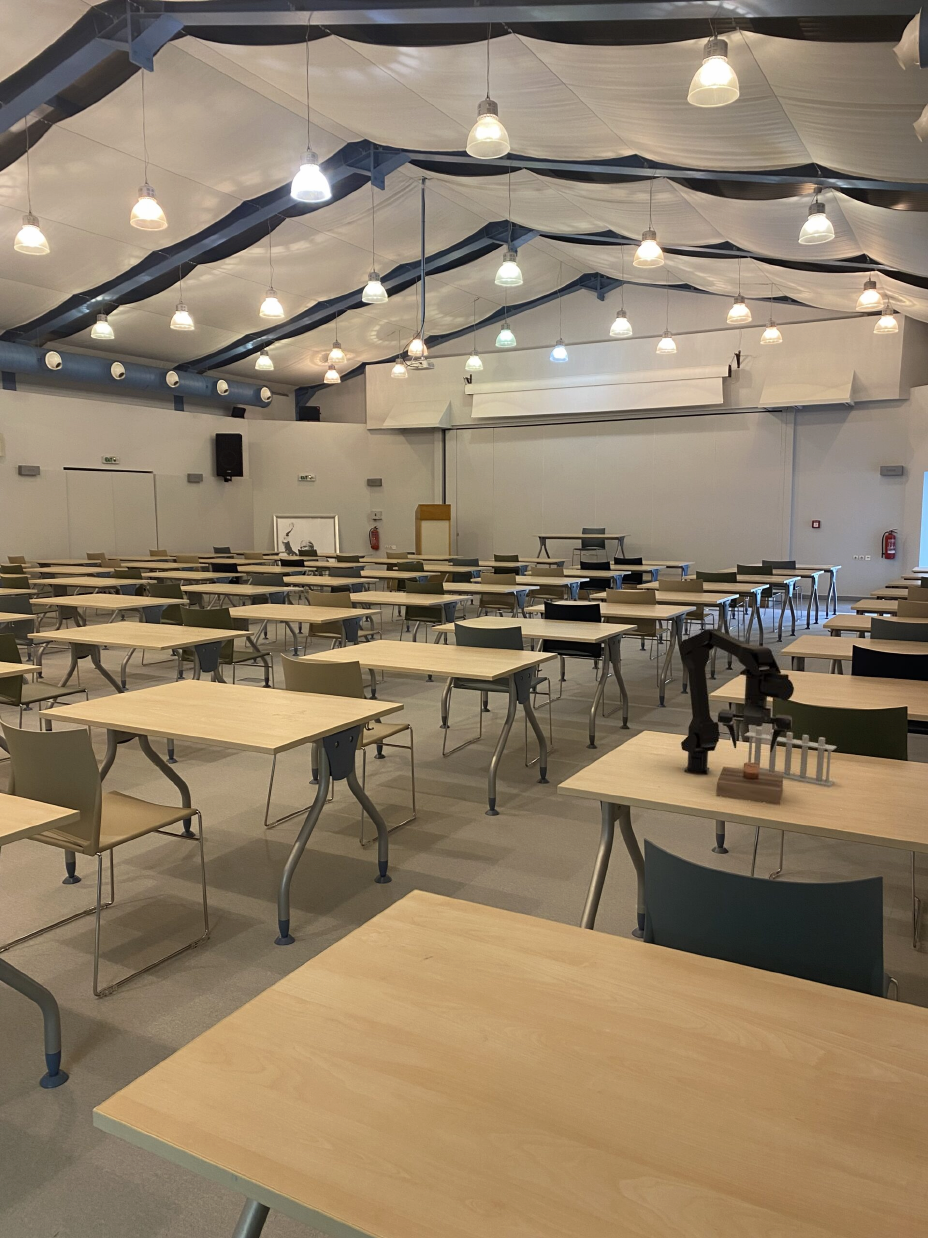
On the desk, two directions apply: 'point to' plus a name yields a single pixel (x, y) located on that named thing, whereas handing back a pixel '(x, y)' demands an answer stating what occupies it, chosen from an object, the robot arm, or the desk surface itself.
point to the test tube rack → (788, 755)
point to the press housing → (750, 786)
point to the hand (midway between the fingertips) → (752, 750)
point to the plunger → (751, 770)
